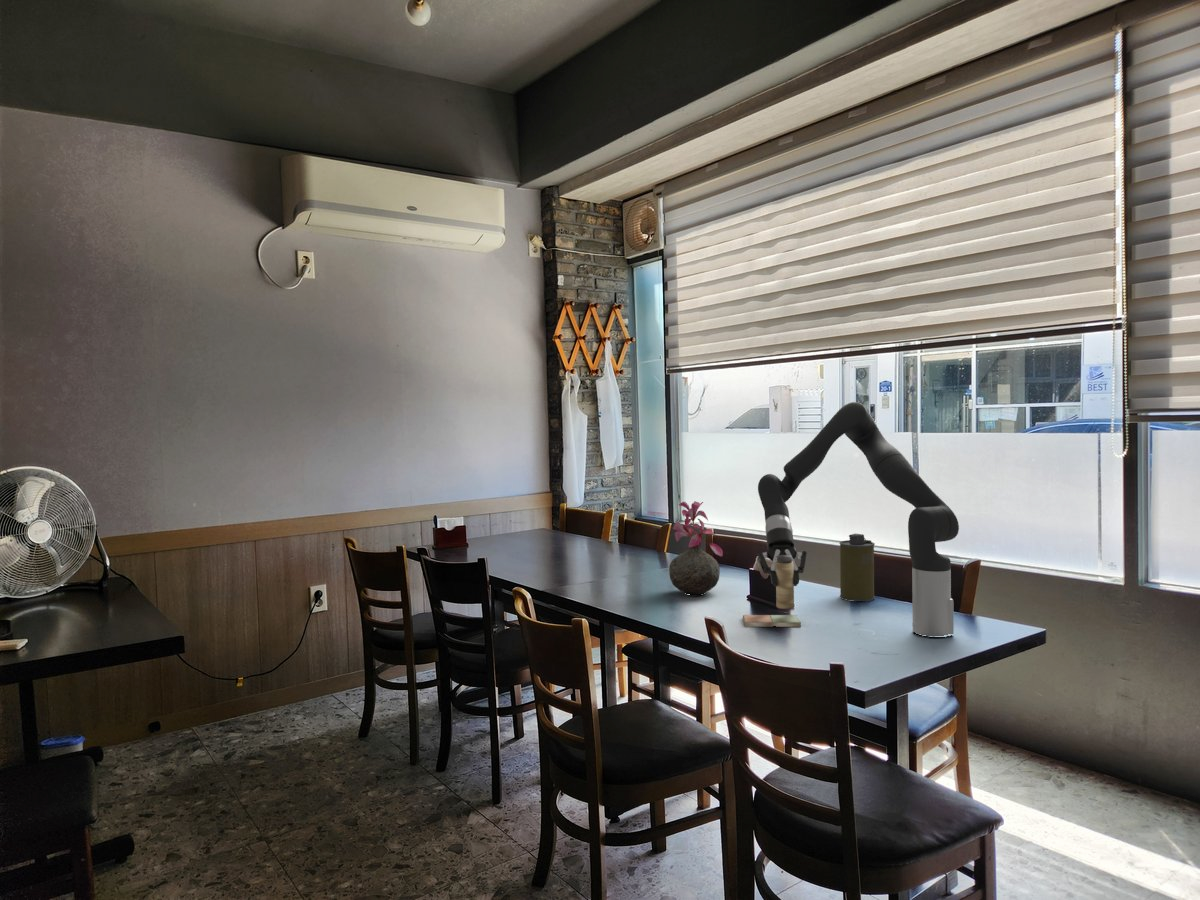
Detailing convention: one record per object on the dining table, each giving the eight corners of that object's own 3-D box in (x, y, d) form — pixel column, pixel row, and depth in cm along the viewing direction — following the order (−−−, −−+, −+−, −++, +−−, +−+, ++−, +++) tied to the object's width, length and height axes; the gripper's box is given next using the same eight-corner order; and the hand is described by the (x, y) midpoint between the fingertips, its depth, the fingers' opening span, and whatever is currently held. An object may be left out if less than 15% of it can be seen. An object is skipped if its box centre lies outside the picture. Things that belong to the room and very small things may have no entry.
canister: (860, 603, 239) (859, 538, 238) (832, 597, 248) (832, 534, 247) (882, 598, 245) (882, 534, 244) (855, 592, 254) (855, 530, 253)
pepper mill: (792, 604, 222) (791, 554, 221) (795, 608, 217) (794, 557, 216) (775, 604, 222) (774, 554, 221) (777, 609, 217) (776, 558, 216)
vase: (671, 587, 266) (670, 499, 265) (724, 588, 263) (722, 499, 262) (667, 599, 250) (665, 505, 248) (722, 600, 247) (721, 505, 245)
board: (796, 619, 223) (796, 614, 223) (800, 626, 215) (800, 622, 215) (742, 618, 224) (742, 614, 224) (745, 626, 216) (745, 622, 216)
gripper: (803, 541, 230) (810, 591, 219) (753, 541, 232) (758, 592, 221) (805, 526, 225) (813, 577, 214) (754, 526, 226) (760, 577, 215)
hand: (785, 584), depth 217 cm, fingers closed on pepper mill, 4 cm apart
